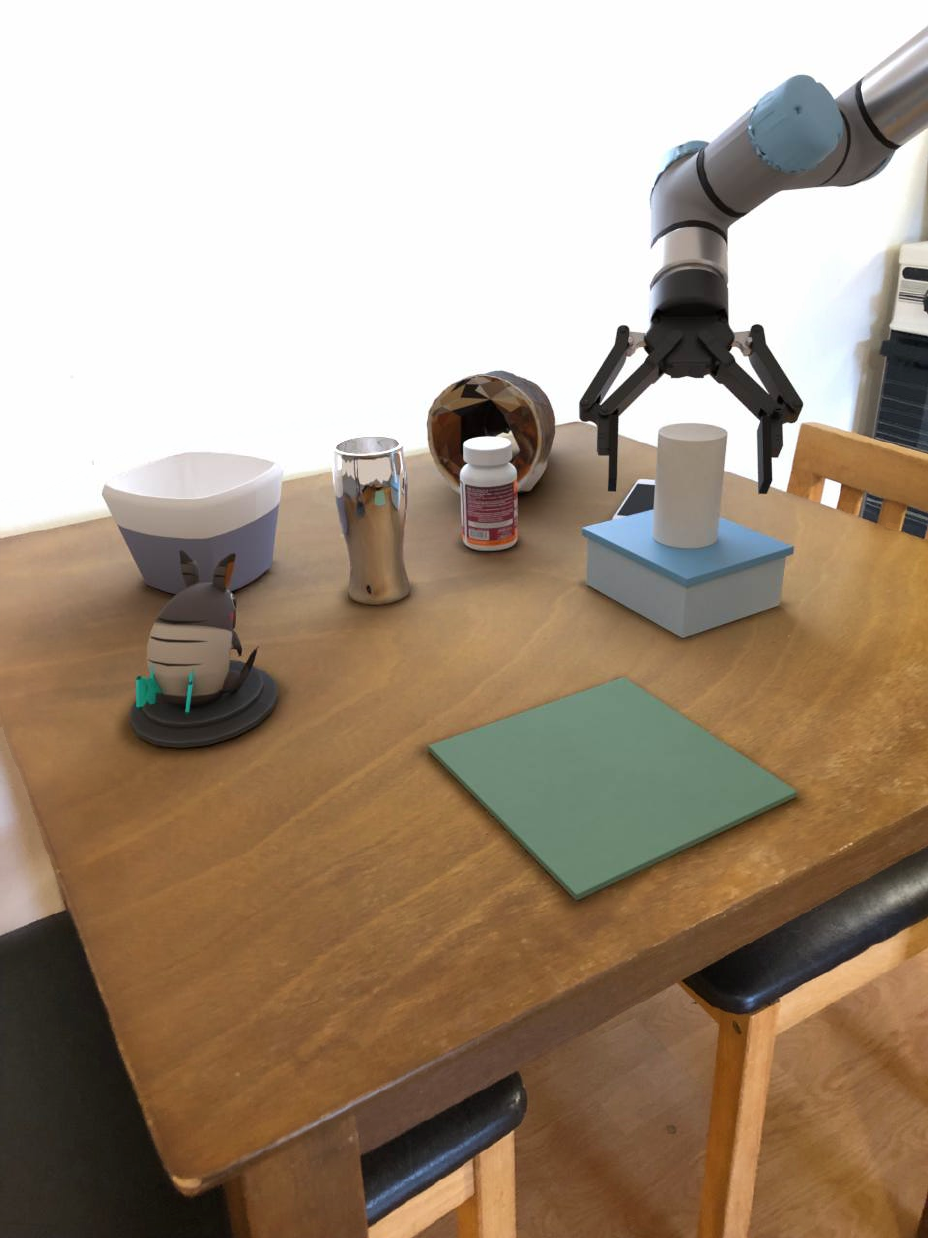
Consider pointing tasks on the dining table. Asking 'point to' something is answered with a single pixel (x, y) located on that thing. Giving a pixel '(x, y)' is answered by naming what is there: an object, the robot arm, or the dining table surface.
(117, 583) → the dining table surface
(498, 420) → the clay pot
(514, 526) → the pill bottle
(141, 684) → the figurine
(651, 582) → the storage box
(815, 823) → the dining table surface
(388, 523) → the beer glass
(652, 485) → the smartphone
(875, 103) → the robot arm
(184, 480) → the bowl
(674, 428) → the white canister
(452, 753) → the mat
